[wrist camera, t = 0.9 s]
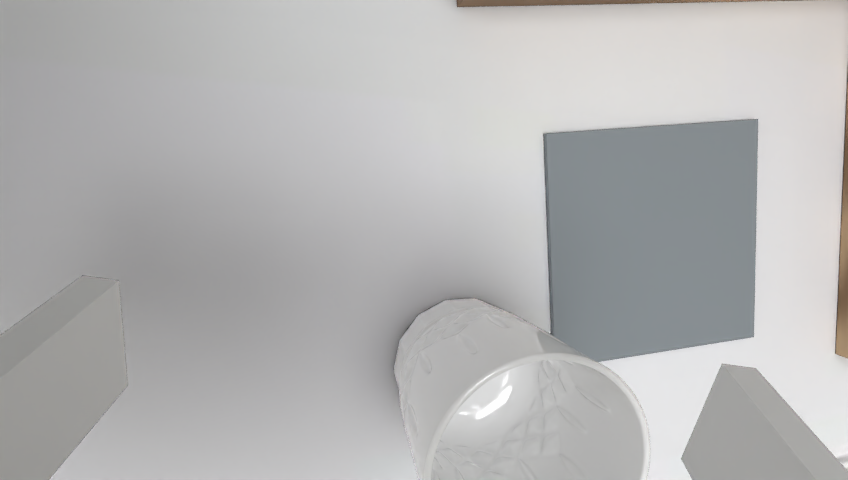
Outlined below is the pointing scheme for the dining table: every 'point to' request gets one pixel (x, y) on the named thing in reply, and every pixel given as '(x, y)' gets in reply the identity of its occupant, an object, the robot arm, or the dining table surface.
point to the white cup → (512, 402)
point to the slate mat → (652, 236)
